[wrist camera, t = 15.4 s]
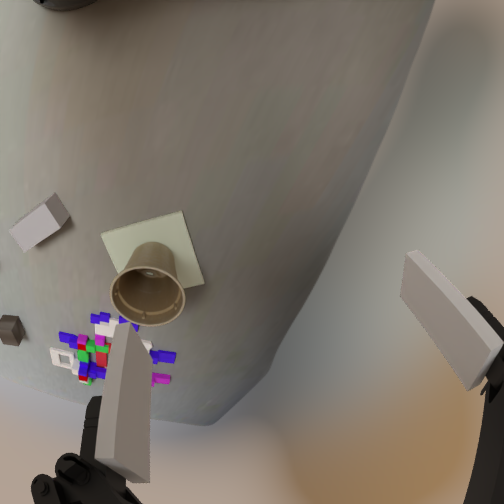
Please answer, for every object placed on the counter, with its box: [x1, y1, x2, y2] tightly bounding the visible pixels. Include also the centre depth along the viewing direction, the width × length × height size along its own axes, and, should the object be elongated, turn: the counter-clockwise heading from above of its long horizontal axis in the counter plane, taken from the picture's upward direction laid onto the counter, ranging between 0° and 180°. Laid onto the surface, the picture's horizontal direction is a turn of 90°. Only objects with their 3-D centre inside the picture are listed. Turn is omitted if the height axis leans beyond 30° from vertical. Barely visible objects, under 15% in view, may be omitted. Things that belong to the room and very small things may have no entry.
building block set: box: [50, 312, 176, 387], centre depth 51 cm, size 25×20×4 cm
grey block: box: [9, 193, 70, 253], centre depth 36 cm, size 4×8×4 cm, turn 112°
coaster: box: [101, 210, 205, 289], centre depth 44 cm, size 12×12×1 cm
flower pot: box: [110, 242, 185, 326], centre depth 40 cm, size 9×9×9 cm
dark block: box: [0, 315, 25, 346], centre depth 44 cm, size 4×4×4 cm
